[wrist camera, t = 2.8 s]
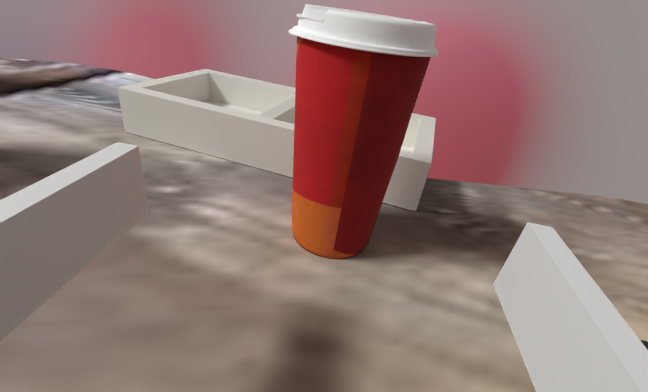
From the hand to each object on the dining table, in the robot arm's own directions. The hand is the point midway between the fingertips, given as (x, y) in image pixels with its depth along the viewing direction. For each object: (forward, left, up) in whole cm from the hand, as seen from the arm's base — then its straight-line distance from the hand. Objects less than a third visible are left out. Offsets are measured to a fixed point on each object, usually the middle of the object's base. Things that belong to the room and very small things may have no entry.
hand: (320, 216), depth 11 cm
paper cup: (+7, -6, -8) cm, 13 cm away
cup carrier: (+23, -10, -8) cm, 27 cm away
